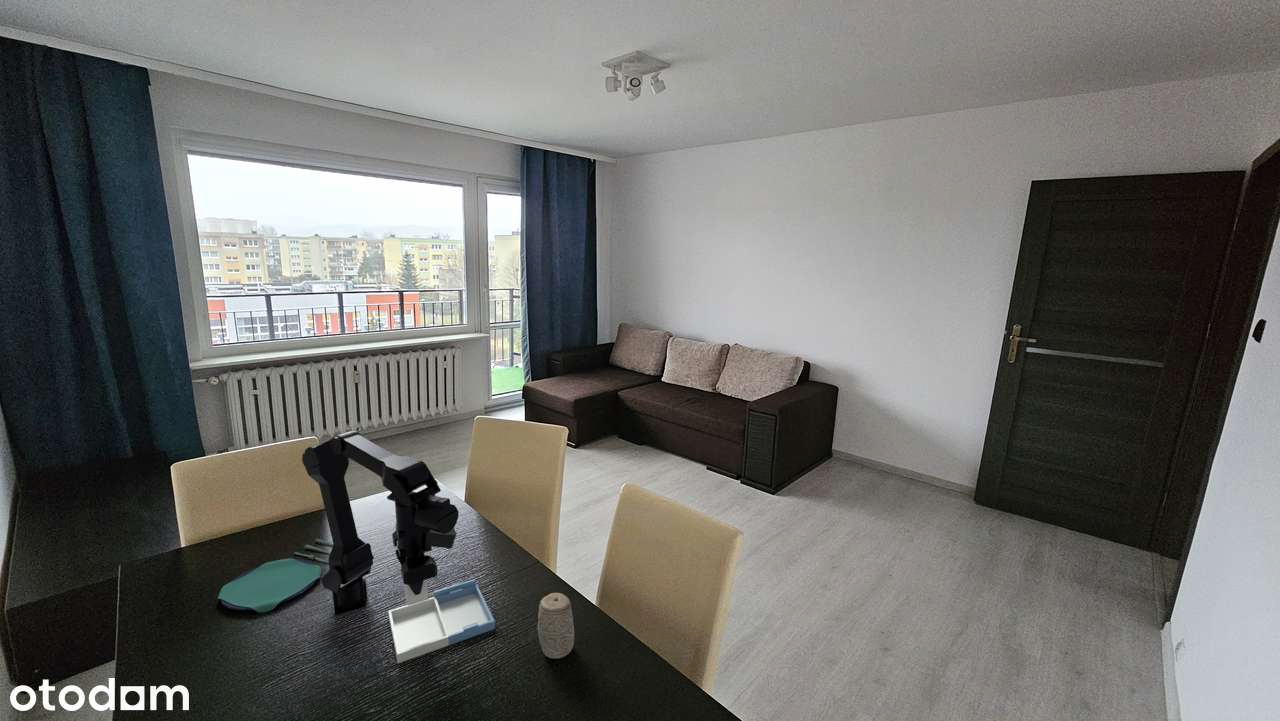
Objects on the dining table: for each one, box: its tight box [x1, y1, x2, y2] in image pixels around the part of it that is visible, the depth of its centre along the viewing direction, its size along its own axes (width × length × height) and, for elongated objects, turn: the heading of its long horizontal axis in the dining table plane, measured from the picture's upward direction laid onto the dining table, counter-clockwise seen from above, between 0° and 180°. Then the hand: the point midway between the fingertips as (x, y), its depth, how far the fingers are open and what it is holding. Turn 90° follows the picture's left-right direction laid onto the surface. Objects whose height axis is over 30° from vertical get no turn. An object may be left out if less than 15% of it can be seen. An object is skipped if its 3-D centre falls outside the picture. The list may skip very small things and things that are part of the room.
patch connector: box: [403, 559, 429, 606], centre depth 108 cm, size 4×4×9 cm
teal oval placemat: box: [216, 538, 333, 614], centre depth 129 cm, size 20×30×2 cm, turn 163°
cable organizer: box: [387, 578, 496, 664], centre depth 113 cm, size 20×16×4 cm
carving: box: [537, 592, 575, 659], centre depth 105 cm, size 6×8×12 cm
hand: (415, 588), depth 109 cm, fingers closed on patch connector, 4 cm apart
